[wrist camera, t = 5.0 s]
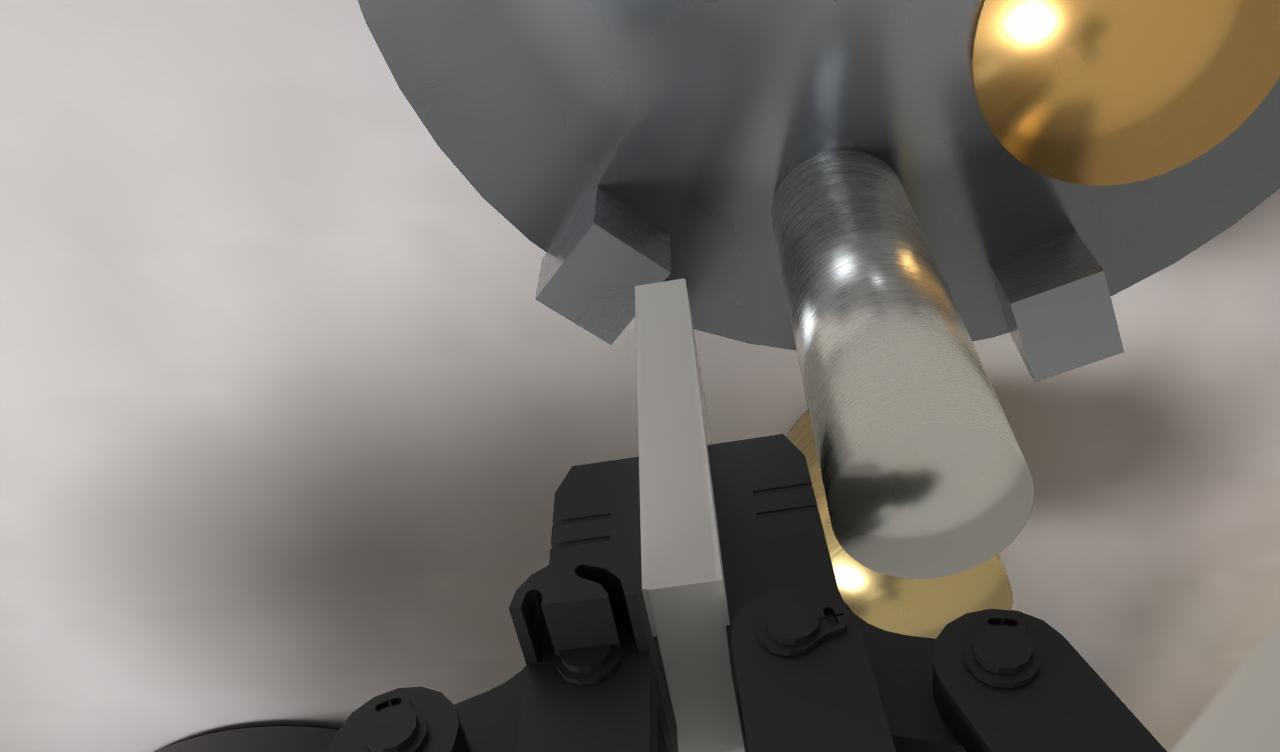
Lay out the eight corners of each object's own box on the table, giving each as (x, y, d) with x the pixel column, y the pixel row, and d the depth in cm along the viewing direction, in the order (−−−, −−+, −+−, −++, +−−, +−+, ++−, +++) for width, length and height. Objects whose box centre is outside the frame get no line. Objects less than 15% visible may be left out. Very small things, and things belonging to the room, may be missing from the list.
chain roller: (901, 537, 27) (945, 700, 23) (754, 491, 26) (773, 651, 22) (986, 416, 25) (1052, 571, 21) (830, 362, 24) (867, 512, 20)
